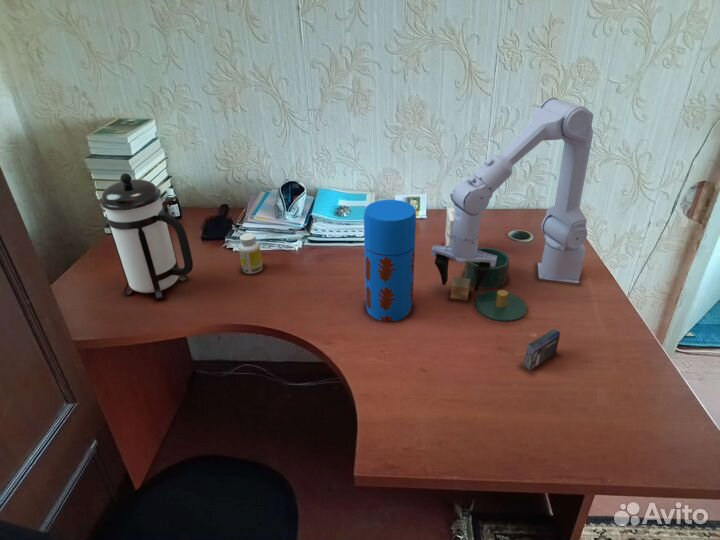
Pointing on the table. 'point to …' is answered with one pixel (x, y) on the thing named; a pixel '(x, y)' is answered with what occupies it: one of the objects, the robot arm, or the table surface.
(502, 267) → the tin
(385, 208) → the thermos
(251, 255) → the supplement bottle
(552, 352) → the mini dv tape
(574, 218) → the robot arm
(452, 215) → the ink cartridge box
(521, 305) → the tin lid
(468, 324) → the table surface
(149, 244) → the coffee press
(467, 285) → the block
